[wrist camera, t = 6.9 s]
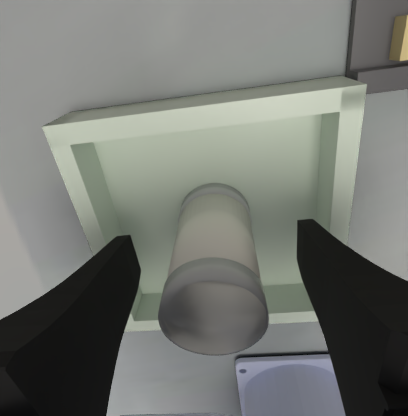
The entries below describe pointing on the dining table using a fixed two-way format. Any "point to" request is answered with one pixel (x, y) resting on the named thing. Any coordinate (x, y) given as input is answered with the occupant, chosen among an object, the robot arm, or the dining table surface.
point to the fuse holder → (379, 45)
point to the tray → (216, 175)
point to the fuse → (214, 276)
